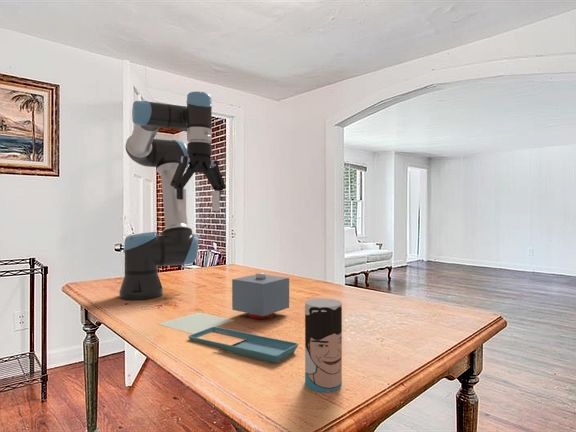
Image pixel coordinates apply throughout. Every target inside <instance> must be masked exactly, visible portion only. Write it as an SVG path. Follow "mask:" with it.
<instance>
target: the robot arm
mask: <svg viewBox="0 0 576 432" xmlns="http://www.w3.org/2000/svg"><path fill="white" fill-rule="evenodd" d="M212 107H213V105H212V96H211V95H210V94H209V93H208V92H205V91H191V92H189V93H188V94H187V96H186V105H185V106H184V105H177V104H171V103H169V104H168V103H161V102H154V101H148V100H135V101H133V102H132V110H131V117H132V118H131V120H132V122H133V124H134V127H133V130H132V134H131V135H130V136H129V137H128V138H127V140H126V143H125V151H126V154H127V156H129V158H130V159H131V160H132V161H133V162H135V163H136V164H138V165H140V166H143V167H151V168H156V172H157V173H158V174H159V175H160V180H161V190H162V203H163V204H162V205H163V216H164V229H163V230H161V235H159V233H158V232H157V231H151V232H143V233H142V232H141V233H136V234H131V235H128V236H126V237H125V239H124V247H123V251H124V259H123V260H124V277H123V278H122V282H121V286H120V288H119V294H118V295H119V298H120V299H122V300H127V301H128V300H129V301H136V300H137V301H138V300H139V301H140V300H149V299H154V298H159V297H161V296H162V295H164V291H163V285H162V283H161V279H160V277H159V272H158V271H159V270H158V268H159V267H166V266H168V267H169V266H170V267H171V266H184V265H185V266H186V265H191V264H193V263H194V262H195V260H196V258H197V256H198V250H199V237H198V235H197V234H195V233H193V229H192V228H191V227H189V225H188V217H187V189H186V188H185V187H186V186H187V184H188V182H189V181H190V179H191V178H192V177H193V175H194V174H195V173H196V174H197V173H199V174H203V176H205V177H206V179H207V181H208V183H209V184H210V185H211V187H212V189H213V190H212V191H211V192H212V193H211V211H219V212H220V210H221V208H220V206H221V205H220V202H221V199H222V197H221V196H222V194H221V193H222V191H224V190H225V189H226V188H227V187H226V183H225V181H224V178H223V176H222V172H221V168H220V165H219V161H218V160H217V159H215V160H211V156H212V155H213V152H212V151H213V150H212V149H213V148H212V147H213V146H212V144H211V143H212V139H213V138H212V137H213V135H212V134H213V133H212V129H213V128H212V118H213V117H212V115H213V114H212V111H213V110H212ZM160 128H166V129H177V130H182V131H183V132H186V141H187V144H186V143H185V142H183V141H180V140H176V139H171V140H169V139H160V138H159V139H158V138H155V137H156V135H157V133H158V131H159V130H160Z"/></svg>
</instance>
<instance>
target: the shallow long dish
mask: <svg viewBox="0 0 576 432" xmlns="http://www.w3.org/2000/svg"><path fill="white" fill-rule="evenodd" d="M214 332H215V333H218V334H219V333H220V334H224V335H227V336H233V337H236V338H239V339H240V338H241V339H244V340H241V341H238V342H236V343H233V344H228V343H227V344H226V343H222V342H217V341H213V340H209V339H204V338H199V337H202V336H204V335H208V334H210V333H214ZM187 337H188V339H189V340H190V341H193V342H196V343H200V344H204V345H208V346H212V347H216V348H220V351H223V352H227V353H232V354H235V355H238V356H239V355H240V356H243V357H247V358H251V359H255V360H259V361H263V362H266V363H267V362H268V363H271V364H278V363H279V362H281V361H283V360H285V359H286V358H287V357H289V356H291V355H294V353H295V352H296V350H297V348H298V346H299V343H298V342H293V341H287V340H282V339H277V338H273V337H267V336H263V335H257V334H252V333H248V332H243V331H239V330H234V329H230V328H229V329H228V328H224V327H219V326H217V327H211V328H208V329H206V330H203V331H200V332H198V333H195V334H190V335H188V336H187Z"/></svg>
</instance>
